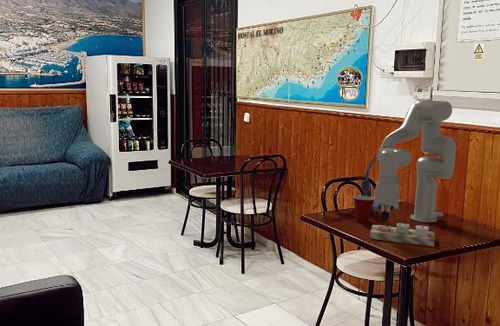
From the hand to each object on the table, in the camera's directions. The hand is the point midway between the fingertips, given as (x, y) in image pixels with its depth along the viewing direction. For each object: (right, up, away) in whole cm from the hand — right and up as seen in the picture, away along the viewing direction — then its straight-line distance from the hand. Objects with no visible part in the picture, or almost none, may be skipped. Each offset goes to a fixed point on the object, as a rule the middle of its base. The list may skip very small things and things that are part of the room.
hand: (385, 220), depth 221 cm
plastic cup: (-4, -3, +25) cm, 26 cm away
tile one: (+14, -6, -5) cm, 16 cm away
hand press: (+3, 0, +45) cm, 45 cm away
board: (+7, -8, -2) cm, 10 cm away
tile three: (-1, -6, 0) cm, 6 cm away
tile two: (+7, -5, -2) cm, 9 cm away
